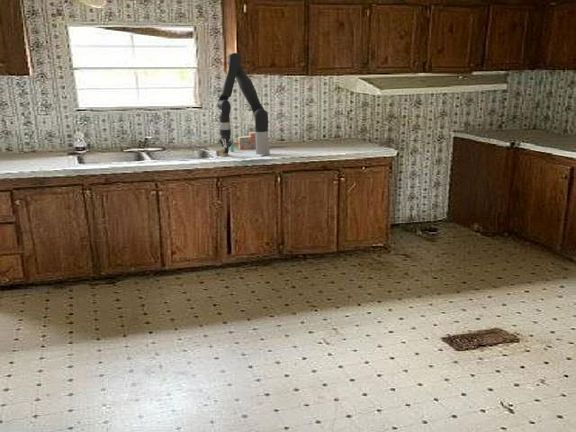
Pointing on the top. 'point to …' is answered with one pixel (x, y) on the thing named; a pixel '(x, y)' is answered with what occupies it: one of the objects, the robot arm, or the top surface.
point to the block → (222, 152)
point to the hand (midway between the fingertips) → (226, 152)
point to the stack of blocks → (247, 141)
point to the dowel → (231, 148)
